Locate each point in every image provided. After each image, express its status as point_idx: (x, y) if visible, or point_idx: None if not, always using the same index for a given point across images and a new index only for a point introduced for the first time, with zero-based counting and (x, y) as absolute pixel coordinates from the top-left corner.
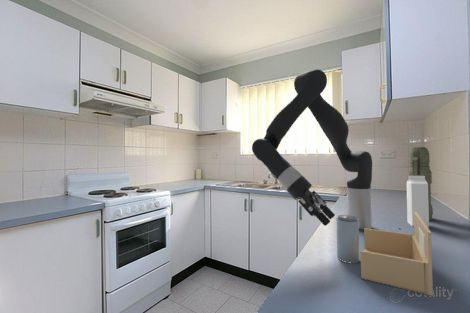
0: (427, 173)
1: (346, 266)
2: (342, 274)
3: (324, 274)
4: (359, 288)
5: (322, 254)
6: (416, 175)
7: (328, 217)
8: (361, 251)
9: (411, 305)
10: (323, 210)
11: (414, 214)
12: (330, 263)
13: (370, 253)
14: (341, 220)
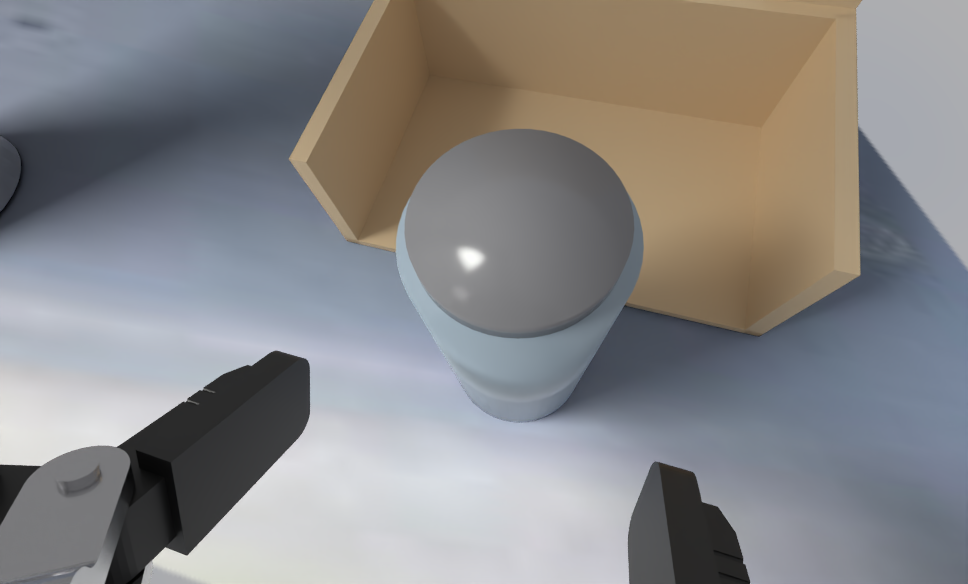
0: None
1: (629, 386)
2: (748, 426)
3: (803, 543)
4: (868, 365)
5: (486, 523)
6: None
7: (289, 444)
8: (858, 270)
9: (894, 199)
10: (193, 522)
11: None
12: (621, 481)
13: (858, 222)
14: (599, 306)
